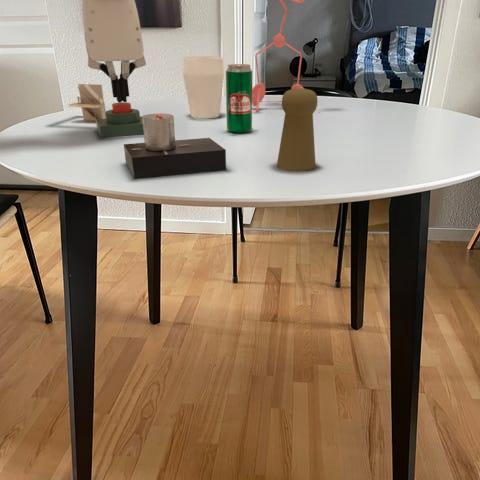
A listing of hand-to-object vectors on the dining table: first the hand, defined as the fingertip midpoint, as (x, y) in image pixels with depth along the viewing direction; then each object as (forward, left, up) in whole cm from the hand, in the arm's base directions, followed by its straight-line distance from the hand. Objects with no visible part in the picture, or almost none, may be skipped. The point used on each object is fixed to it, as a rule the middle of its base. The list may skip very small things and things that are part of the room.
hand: (121, 101), depth 97 cm
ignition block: (0, 0, -6) cm, 6 cm away
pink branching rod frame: (+41, +17, -6) cm, 45 cm away
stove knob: (+2, -29, -3) cm, 29 cm away
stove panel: (+4, -29, -6) cm, 30 cm away
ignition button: (0, 0, -2) cm, 2 cm away
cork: (+22, -35, -6) cm, 42 cm away
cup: (+20, +12, -6) cm, 24 cm away
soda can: (+22, -7, -6) cm, 24 cm away
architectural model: (-5, +14, -6) cm, 16 cm away
